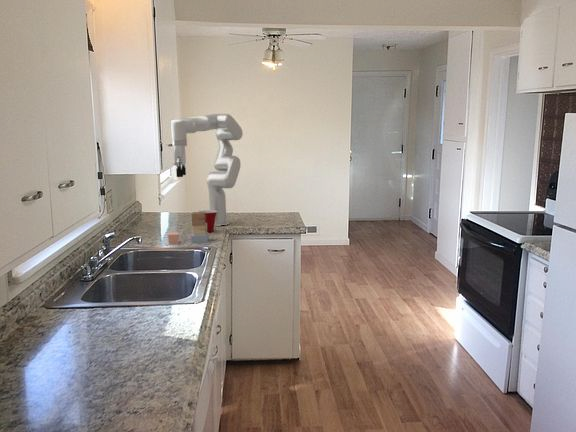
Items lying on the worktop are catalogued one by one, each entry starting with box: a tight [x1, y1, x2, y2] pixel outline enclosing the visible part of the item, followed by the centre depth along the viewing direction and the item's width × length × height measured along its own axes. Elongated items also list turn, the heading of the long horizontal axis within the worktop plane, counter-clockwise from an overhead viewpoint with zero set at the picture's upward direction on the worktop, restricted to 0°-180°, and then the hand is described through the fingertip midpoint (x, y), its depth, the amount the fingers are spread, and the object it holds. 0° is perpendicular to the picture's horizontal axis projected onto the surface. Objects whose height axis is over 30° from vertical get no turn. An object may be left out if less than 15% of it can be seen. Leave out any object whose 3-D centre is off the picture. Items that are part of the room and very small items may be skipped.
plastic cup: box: [197, 209, 217, 234], centre depth 278 cm, size 11×11×12 cm
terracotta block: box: [167, 231, 180, 245], centre depth 253 cm, size 5×5×5 cm
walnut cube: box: [191, 211, 206, 227], centre depth 255 cm, size 6×6×6 cm
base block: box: [190, 232, 209, 244], centre depth 257 cm, size 8×8×4 cm
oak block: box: [192, 223, 207, 235], centre depth 257 cm, size 6×6×5 cm
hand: (181, 176), depth 265 cm, fingers open, 9 cm apart
